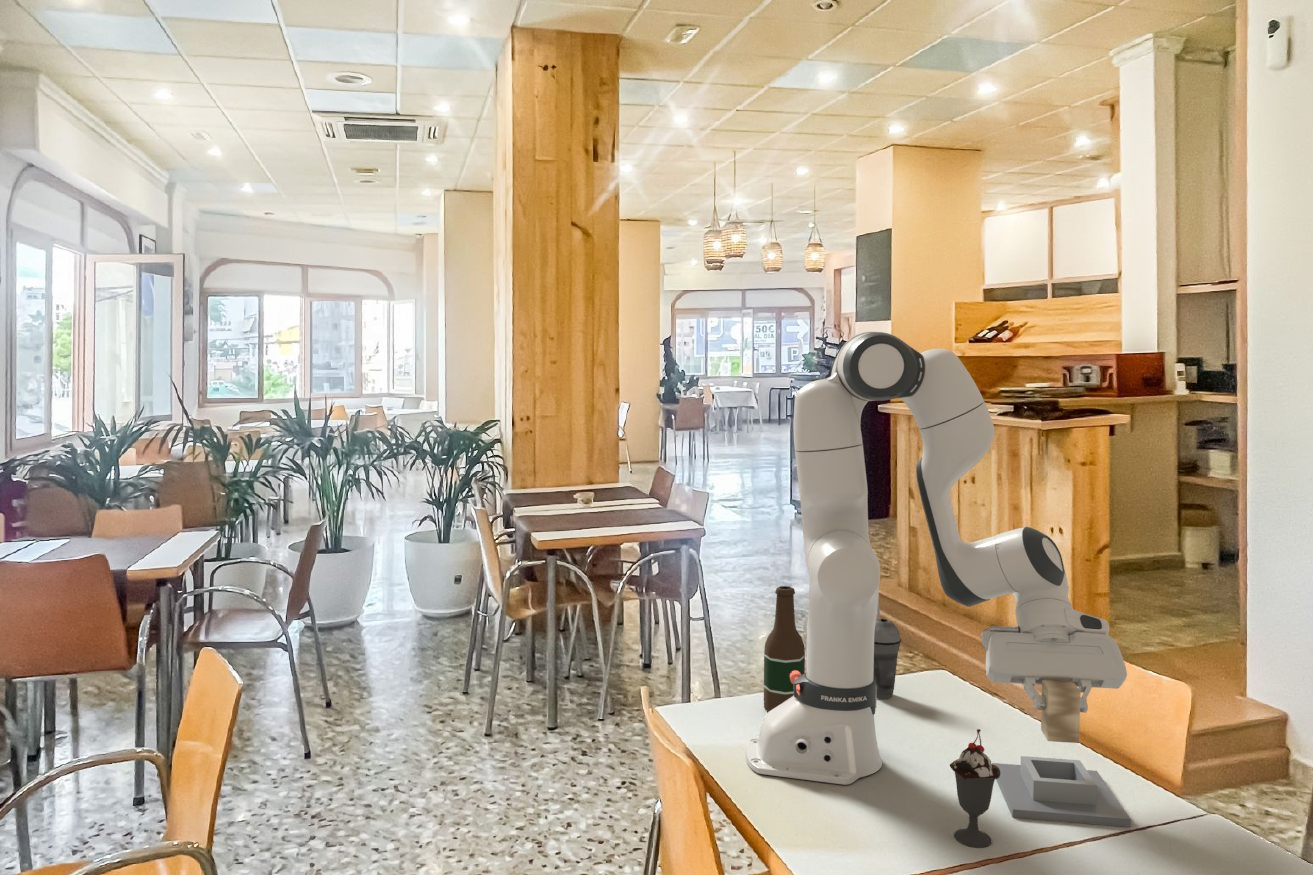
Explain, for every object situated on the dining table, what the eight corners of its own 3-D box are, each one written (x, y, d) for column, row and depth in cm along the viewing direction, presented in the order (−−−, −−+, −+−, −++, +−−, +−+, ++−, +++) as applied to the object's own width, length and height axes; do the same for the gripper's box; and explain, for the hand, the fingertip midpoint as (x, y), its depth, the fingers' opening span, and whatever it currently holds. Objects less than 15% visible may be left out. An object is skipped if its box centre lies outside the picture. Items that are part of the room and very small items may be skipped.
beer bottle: (782, 699, 179) (783, 581, 177) (812, 711, 173) (814, 588, 171) (755, 709, 174) (756, 586, 172) (785, 720, 168) (786, 594, 166)
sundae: (986, 825, 129) (989, 723, 128) (1006, 850, 122) (1009, 743, 121) (940, 826, 128) (943, 724, 127) (958, 851, 122) (961, 743, 121)
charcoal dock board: (1012, 817, 131) (1013, 789, 131) (992, 769, 147) (992, 745, 147) (1130, 827, 128) (1131, 798, 128) (1096, 777, 144) (1097, 752, 144)
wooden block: (1047, 741, 135) (1049, 689, 135) (1041, 729, 140) (1042, 679, 139) (1079, 743, 134) (1080, 690, 134) (1071, 731, 139) (1072, 681, 138)
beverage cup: (901, 703, 177) (903, 603, 176) (863, 700, 178) (865, 601, 177) (898, 690, 184) (900, 594, 183) (862, 687, 186) (864, 592, 184)
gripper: (982, 615, 145) (992, 696, 136) (1118, 621, 141) (1138, 704, 132) (977, 635, 149) (986, 714, 140) (1109, 640, 146) (1127, 722, 137)
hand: (1061, 709), depth 136 cm, fingers closed on wooden block, 4 cm apart
